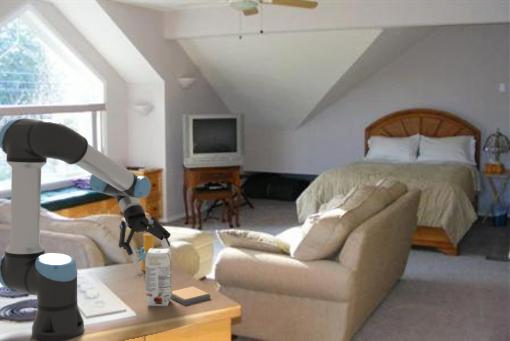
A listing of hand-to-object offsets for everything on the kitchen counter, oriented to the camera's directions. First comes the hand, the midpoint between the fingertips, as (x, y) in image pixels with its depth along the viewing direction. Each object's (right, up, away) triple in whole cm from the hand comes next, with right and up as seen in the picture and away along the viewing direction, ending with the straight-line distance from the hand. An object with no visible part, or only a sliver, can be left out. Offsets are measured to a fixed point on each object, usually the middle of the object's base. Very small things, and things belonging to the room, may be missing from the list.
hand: (153, 258), depth 211 cm
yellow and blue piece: (-8, -10, +36) cm, 38 cm away
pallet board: (+12, -14, +3) cm, 19 cm away
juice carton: (+2, -15, -3) cm, 16 cm away
